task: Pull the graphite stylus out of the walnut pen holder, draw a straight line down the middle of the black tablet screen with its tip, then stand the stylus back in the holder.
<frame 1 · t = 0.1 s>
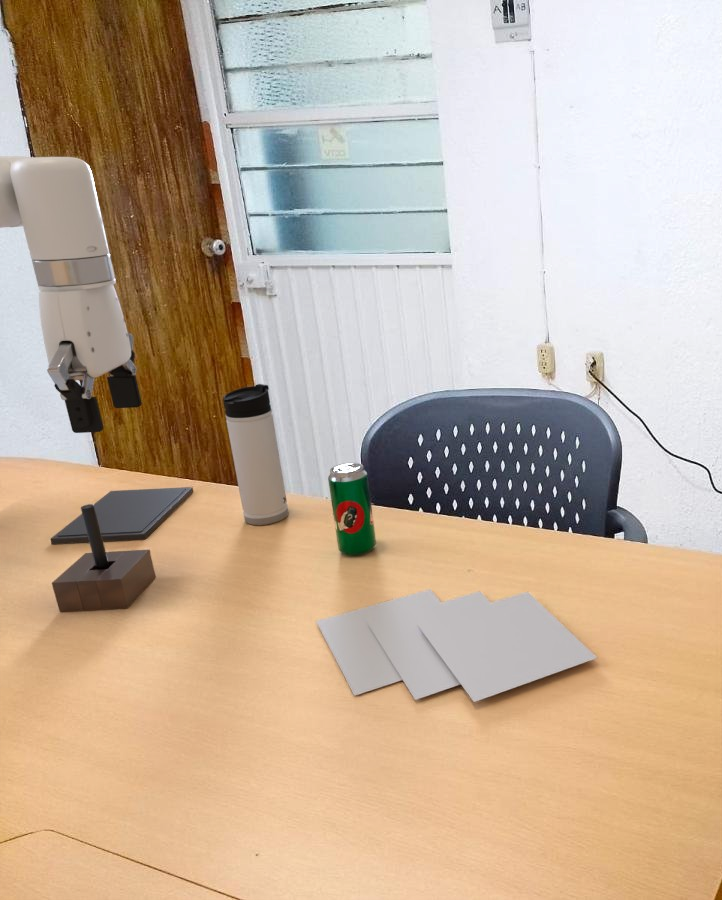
hand: (109, 418, 99), 22 cm above the table, tool pointing down, fingers open, 9 cm apart
tablet: (127, 516, 127), on the table
soda can: (358, 550, 114), on the table
holder: (109, 593, 104), on the table
travel mug: (268, 517, 126), on the table
paper stack: (449, 642, 92), on the table
stylus: (98, 550, 102), in the holder
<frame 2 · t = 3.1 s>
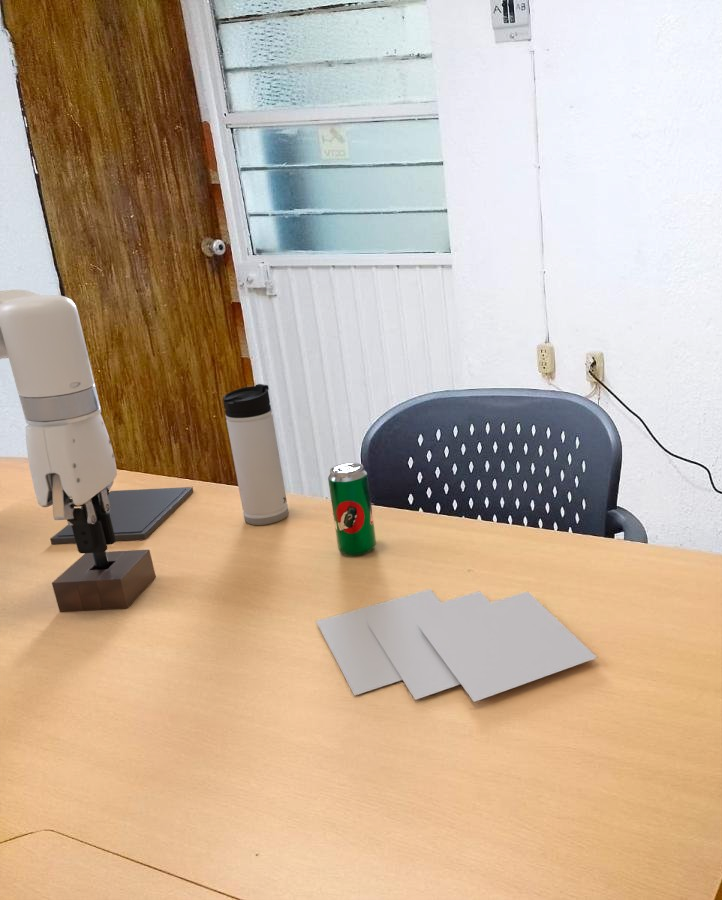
hand: (97, 547, 102), 7 cm above the table, tool pointing down, fingers closed on stylus, 1 cm apart
stylus: (98, 550, 102), in the holder, touching gripper
everything else where it was.
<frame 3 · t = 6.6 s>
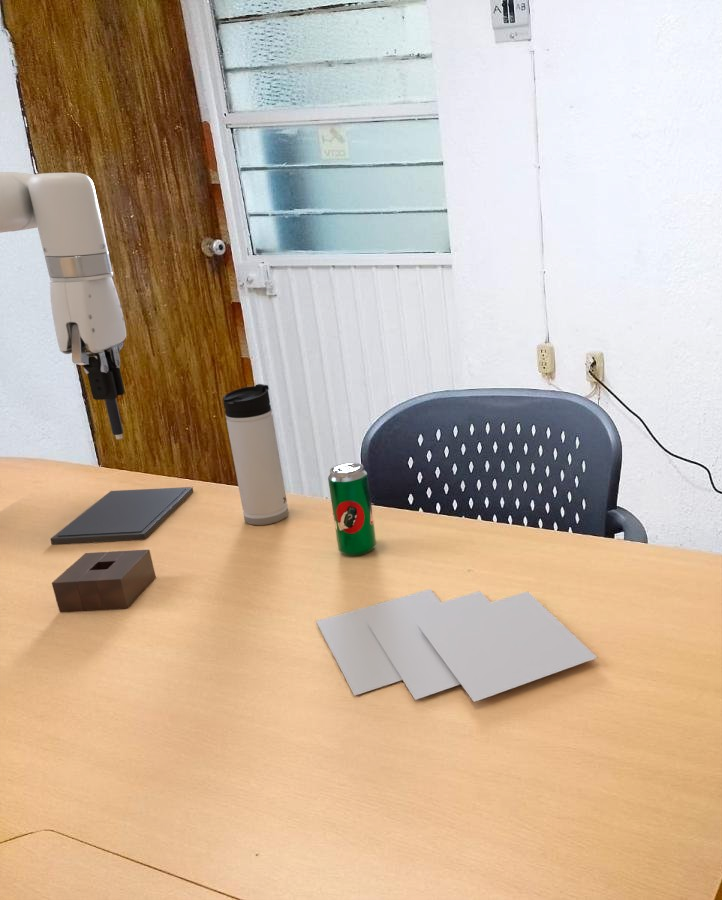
hand: (109, 396, 120), 19 cm above the table, tool pointing down, fingers closed on stylus, 1 cm apart
stylus: (110, 399, 120), point 19 cm above the table, touching gripper
everything else where it was.
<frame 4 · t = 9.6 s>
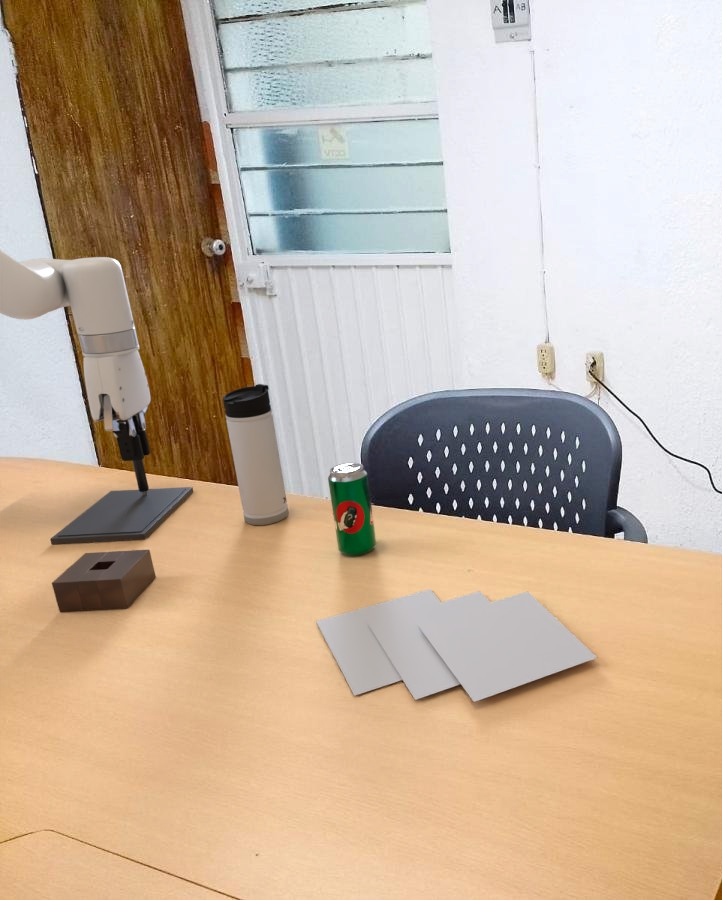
hand: (136, 456, 130), 8 cm above the table, tool pointing down, fingers closed on stylus, 1 cm apart
stylus: (137, 459, 130), on the tablet, point 7 cm above the table, touching gripper
everything else where it was.
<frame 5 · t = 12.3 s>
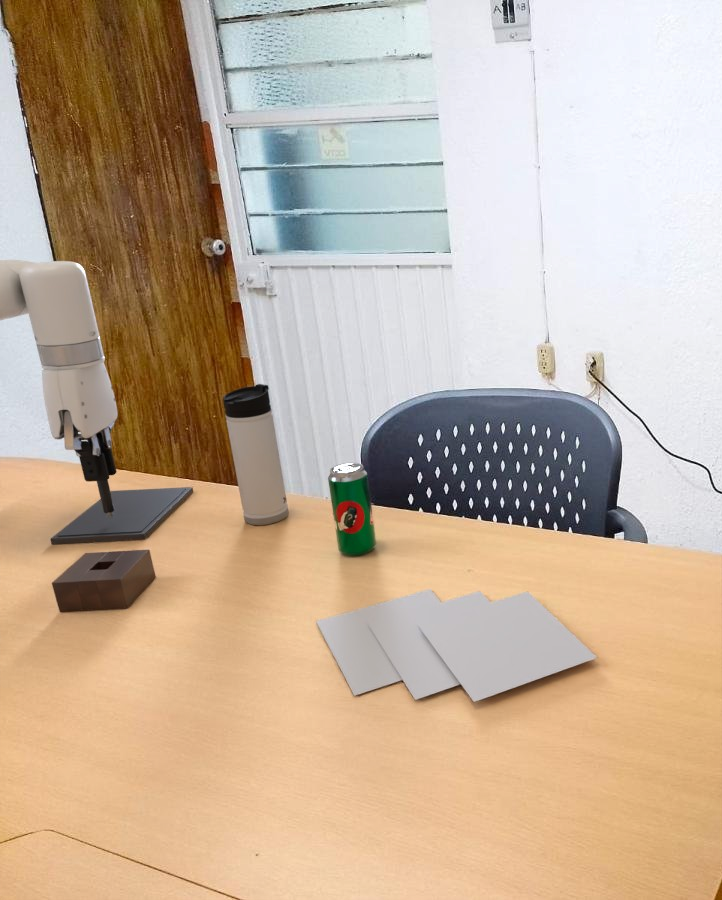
hand: (101, 476, 120), 8 cm above the table, tool pointing down, fingers closed on stylus, 1 cm apart
stylus: (101, 478, 120), point 8 cm above the table, touching gripper
everything else where it was.
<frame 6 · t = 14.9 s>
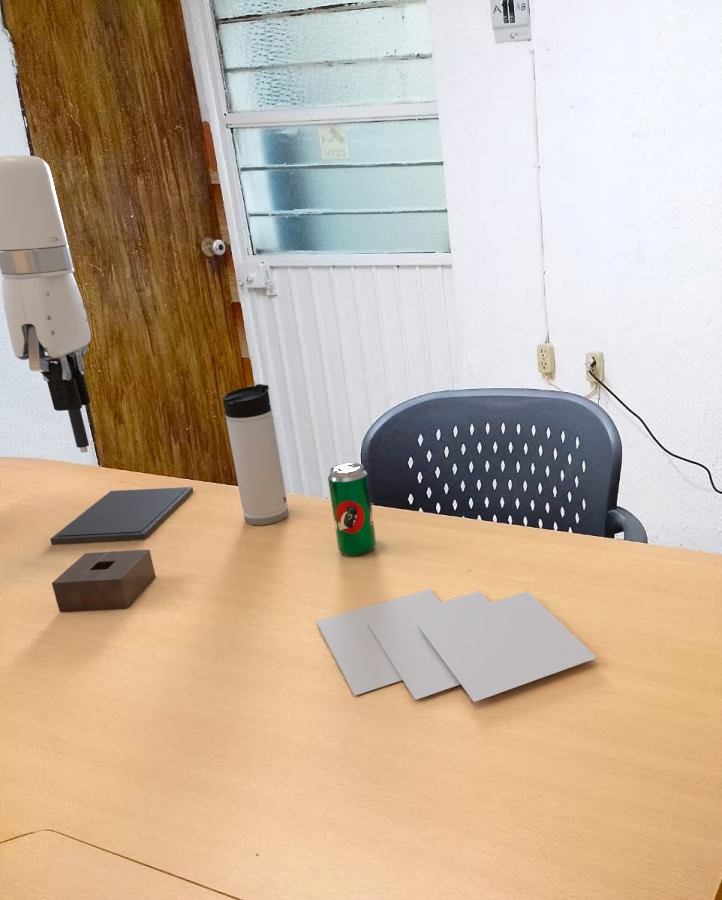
hand: (72, 406, 107), 21 cm above the table, tool pointing down, fingers closed on stylus, 1 cm apart
stylus: (73, 408, 107), point 21 cm above the table, touching gripper
everything else where it was.
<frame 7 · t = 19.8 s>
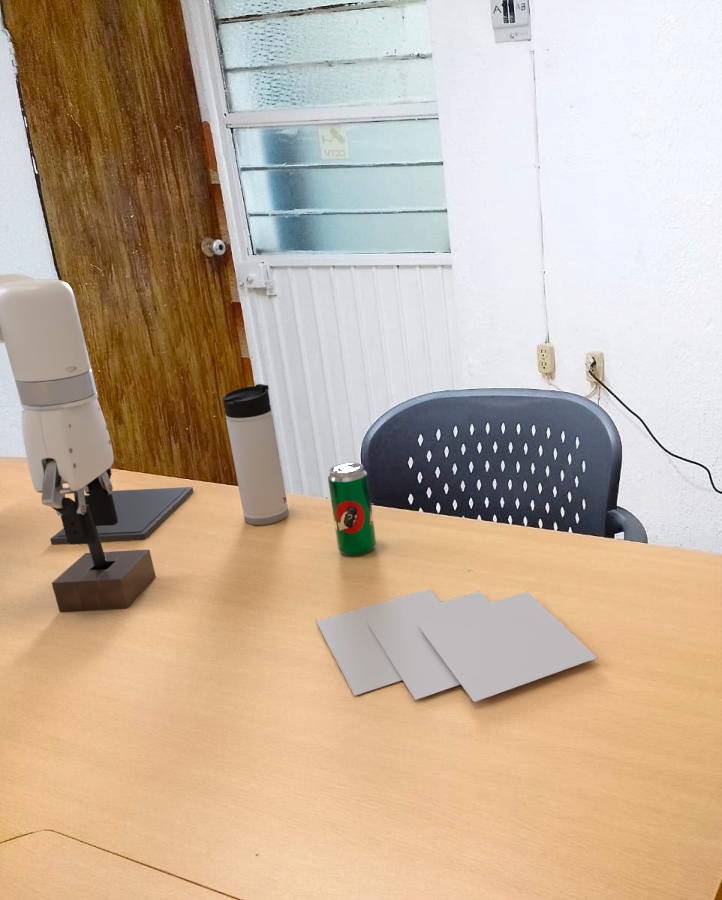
hand: (93, 532, 101), 9 cm above the table, tool pointing down, fingers open, 4 cm apart
stylus: (96, 550, 102), in the holder
everything else where it was.
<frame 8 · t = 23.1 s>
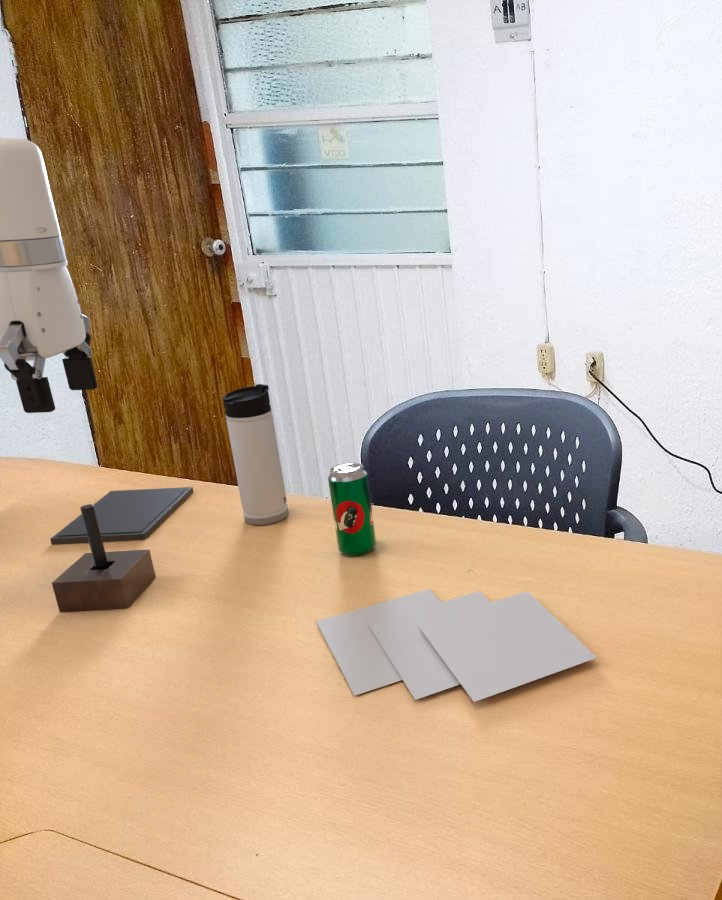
hand: (63, 400, 100), 24 cm above the table, tool pointing down, fingers open, 9 cm apart
nothing on the table moved.
at the end: stylus 0.0 cm off-centre in the holder, point 6.0 cm above the holder's base; stylus touching table; the gripper is holding nothing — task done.
